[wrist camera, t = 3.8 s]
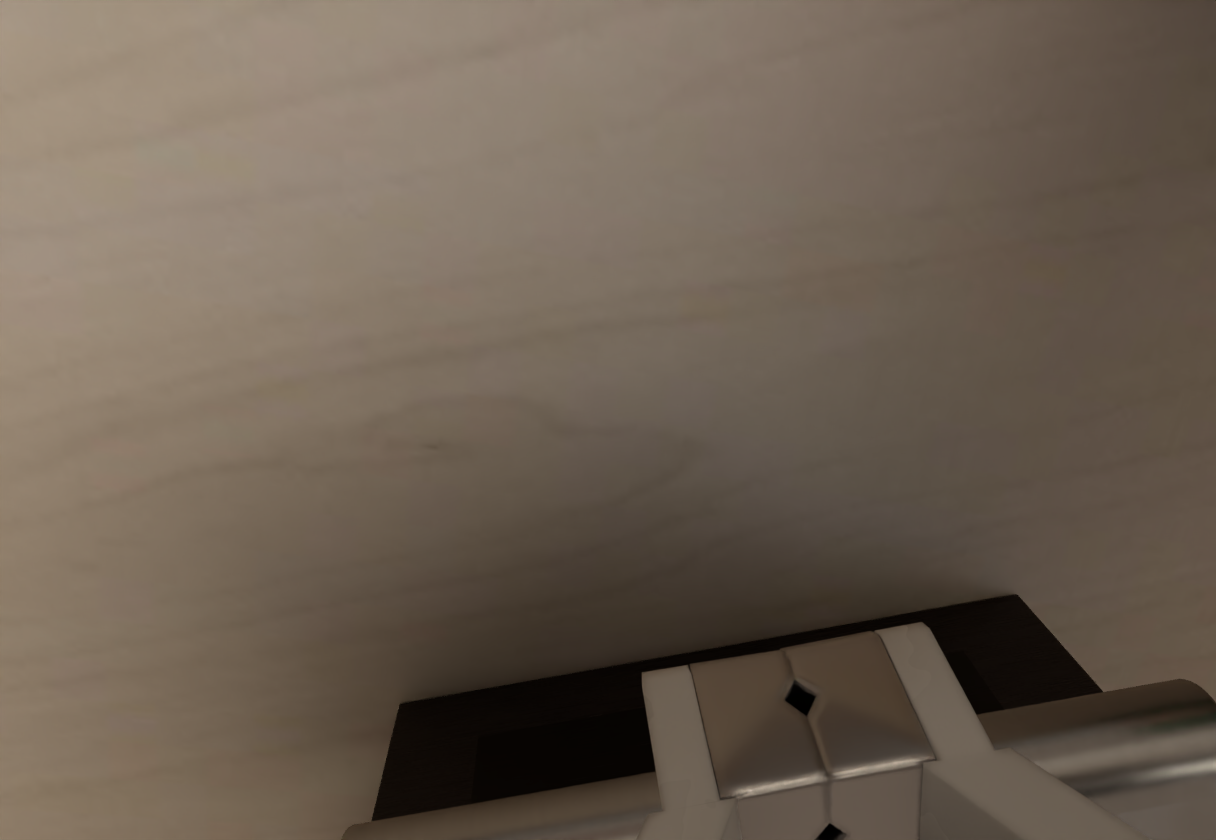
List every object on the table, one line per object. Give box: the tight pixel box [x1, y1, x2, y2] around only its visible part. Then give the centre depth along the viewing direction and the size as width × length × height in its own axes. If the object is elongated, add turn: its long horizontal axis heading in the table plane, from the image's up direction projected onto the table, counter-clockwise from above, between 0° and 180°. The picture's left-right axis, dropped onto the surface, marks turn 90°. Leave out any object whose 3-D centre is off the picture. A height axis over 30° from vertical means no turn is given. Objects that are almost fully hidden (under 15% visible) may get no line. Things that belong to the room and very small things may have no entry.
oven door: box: [341, 595, 1216, 840], centre depth 20 cm, size 7×18×14 cm, turn 99°
